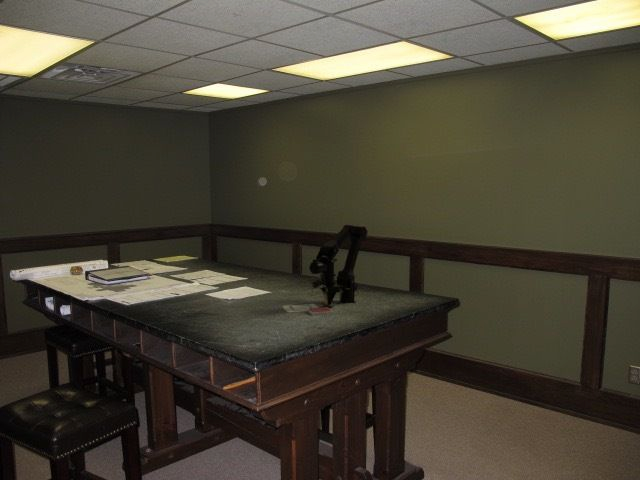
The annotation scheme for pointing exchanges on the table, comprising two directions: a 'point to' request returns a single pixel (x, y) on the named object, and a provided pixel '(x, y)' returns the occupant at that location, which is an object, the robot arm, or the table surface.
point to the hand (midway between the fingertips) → (328, 303)
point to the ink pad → (319, 311)
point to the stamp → (327, 302)
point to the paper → (299, 307)
